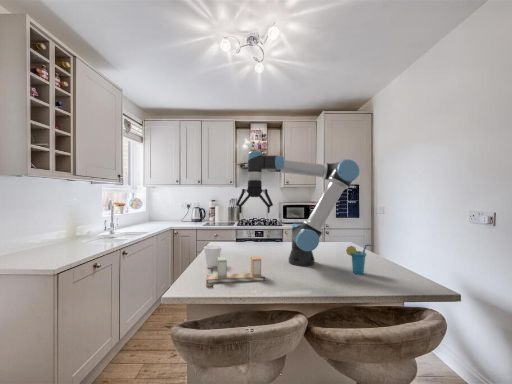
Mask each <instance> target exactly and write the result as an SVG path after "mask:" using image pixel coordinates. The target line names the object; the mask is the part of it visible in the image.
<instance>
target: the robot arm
mask: <svg viewBox="0 0 512 384" xmlns="http://www.w3.org/2000/svg"><path fill="white" fill-rule="evenodd" d="M247 156H248V157H247V180H248V181H247V189H245V188H242V189H241V193H240V194H239V197H238V199H237V201H236V203H235V206H236V207H238V212H239V214H240V220H244V207H243V205H245V203H246V202H247V201H248V200H249V199H250V198H259V199H261V201H262V202H263V204H265V208H264V209H265V212H264V213H265V214H264V215H265V217H264V219H265V220H269V219H268V218H269V214H270V211H271V209H270V208H271V207H273V206H274V204H273V201H272V200H271V197H270V195H269V193H268V189H267V188H265V189H263V188H262V187H263V185H262V183H263V182H262V179H263V178H262V174H263V173H262V172H263V171H262V170H267V171H268V172H271V173H273V172H275V173H282V174H283V173H284V174H292V175H299V176H309V177H315V178H316V177H317V178H322V179H323V180H328V181H329V183H328V184H327V186H326V187H325V190H324V191H323V193H321V196H320V198H319V199H318V202H317V203H316V205H315V207H313V210H312V211H311V213H310V215H309V217H308V219H307V220H304V221H302V222H301V223H292V225H291V250H290V253H289V256H288V263H289V264H291V265H293V266H294V265H295V266H303V267H306V266H307V267H308V266H312V265H314V264H315V261H316V260H315V257H314V253H313V251H314V250H316V249H317V247H319V243H320V238H321V236H322V234H323V227H324V225H325V223H326V221H327V220H328V219H329V216H330V214H331V213H332V211H333V209H334V207H335V206H336V204H337V202H338V200H339V199H340V197H341V196H342V194H343V192H344V191H345V190H347V189H349V187H350V186H351V184H352V183H353V181H355V180H356V179H358V177H359V175H360V167H359V164H358V163H357V162H356V161H355V160H352V159H341V160H339V161H338V162H335V163H334V162H333V163H329V162H327V163H326V162H325V163H324V164H321V163H315V162H303V161H295V160H287V159H285V157H284V156H283V155H278V154H276V155H264V154H263V153H262V151H259V150H258V151H257V150H253V151H249V152H248V154H247ZM245 193H247V195H246V197H245V198H244V199H243V197H244V195H245ZM262 193H263V194H264V195H265V197H266V199H265V198H264V196H263V195H262ZM242 199H243V200H242ZM241 200H242V201H241Z"/></svg>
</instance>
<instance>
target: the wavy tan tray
mask: <svg viewBox="0 0 512 384" xmlns="http://www.w3.org/2000/svg"><path fill="white" fill-rule="evenodd" d="M265 281H266V280H265V276H263V275H261V277H251V272H249V273H248V272H247V273H245V272H244V273H227V278H224V279H218V277H217V274H206V284H205V285H206V287H214V284H227V283H228V284H229V283H248V282H265Z"/></svg>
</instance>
